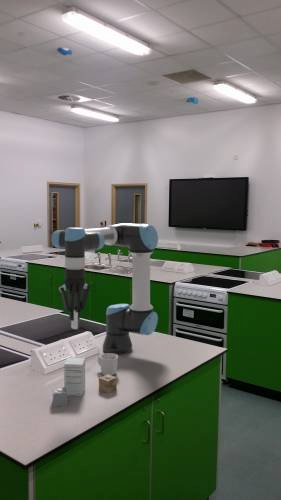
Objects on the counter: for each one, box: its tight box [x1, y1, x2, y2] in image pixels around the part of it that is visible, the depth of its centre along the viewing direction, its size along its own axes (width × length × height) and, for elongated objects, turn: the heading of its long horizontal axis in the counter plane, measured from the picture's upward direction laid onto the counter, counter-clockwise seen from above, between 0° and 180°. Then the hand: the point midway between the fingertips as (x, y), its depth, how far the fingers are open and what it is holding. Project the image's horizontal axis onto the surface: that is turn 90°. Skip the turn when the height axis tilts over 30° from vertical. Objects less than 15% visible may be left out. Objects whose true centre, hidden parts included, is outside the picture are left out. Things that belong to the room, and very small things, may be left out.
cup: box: [97, 352, 119, 376], centre depth 191 cm, size 11×8×8 cm
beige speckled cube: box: [98, 374, 118, 394], centre depth 174 cm, size 5×5×5 cm
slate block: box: [52, 386, 68, 408], centre depth 162 cm, size 5×5×5 cm
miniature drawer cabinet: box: [63, 357, 86, 397], centre depth 171 cm, size 7×7×13 cm
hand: (74, 328), depth 169 cm, fingers closed
